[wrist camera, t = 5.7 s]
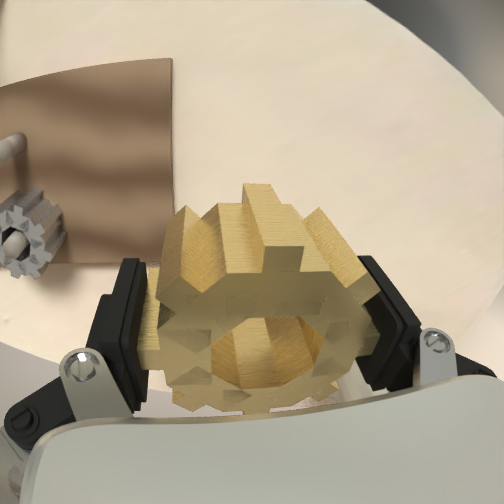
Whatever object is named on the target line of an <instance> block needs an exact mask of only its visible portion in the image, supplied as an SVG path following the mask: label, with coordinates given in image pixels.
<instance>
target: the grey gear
mask: <svg viewBox="0 0 504 504" xmlns="http://www.w3.org/2000/svg"><path fill="white" fill-rule="evenodd" d="M42 191H43V190H40V189H38V188H34V189H32V190H31V191H30V192H29V193H28V192H26V193H25V194H23V195H21V194H20V192H19V190H17V191H15V192H14V193H13V194H11V195H10V196H9V197H8V198H7V199H5V200H4V201H3V202H2V203H1V204H0V262H1V263H2V265H3V266H4V267H5V268H7V269H10V270H11V276H12V277H15V278H17V279H19V277H20V276H21V275H24V276H26V275H28V274H30V273H31V274H32V276H33V277H34V278H35V279H36V278H38V277H40V276H41V275H42V274H43V272H44V271H45V269H46V268H47V266H48V264H49V263H50V261H51V260H52V258H53V257H54V255H55V254H56V252H57V251H58V249H59V248H60V246H61V245H62V243H63V242H64V241H65V238H66V232H67V231H64V230H61V229H60V228H61V220H60V219H59V215H60V214H61V213H62V210H61V208H60V206H59V205H58V204H56V205H55V206H53V207H52V205H51V203H50V202H49V200H48V199H45V198H42ZM16 229H19V230H21V231H23V233H24V234H25V236H26V237H27V239H28V240H29V244H28V245H27V246H26V247H25V249H24V250H23V251H22V252H21V254H20V255H19V256H18V257H17V258H16V259H10V258H8V257H7V256H6V255H5V253H4V251H3V243H4V242H5V241H6V240H7V239H8V238H9V236H10V235H11V234H12V233H13V232H14V231H15V230H16Z"/></svg>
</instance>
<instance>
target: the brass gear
mask: <svg viewBox="0 0 504 504" xmlns="http://www.w3.org/2000/svg"><path fill="white" fill-rule="evenodd" d="M380 291H381V290H380V288H379V287H378V285H377V284H376V282H375V281H374V280H373V278H372V277H371V275H370V274H369V273H368V271H367V270H366V268H365V267H364V266H363V264H362V263H361V261H360V260H359V259H358V257H357V256H356V254H355V253H354V252H353V250H352V249H351V248H350V246H349V245H348V244H347V242H346V241H345V240H344V238H343V237H342V236H341V234H340V233H339V232H338V230H337V229H336V228H335V226H334V225H333V224H332V222H331V221H330V220H329V219H328V217H327V216H326V215H325V214H324V212H323V211H322V210H321V209H320V207H319V208H317V209H316V210H315V211H314V212H312V213H311V214H310V215H309V216H307V217H306V218H305V219H303V218H302V217H301V215H300V214H299V213H298V212H297V211H296V210H295V209H294V207H293V206H292V205H291V204H281V202H280V201H279V199H278V197H277V195H276V194H275V192H274V190H273V188H272V186H271V185H270V184H243V192H242V203H217V204H216V205H215V206H214V207H213V208H212V209H211V210H209V211H208V212H207V213H206V214H205V215H204V216H203V217H202V218H200V217H199V216H198V215H196V214H195V213H194V212H193V211H192V210H191V209H190V208H189V207H188V206H187V205H185V206H184V207H183V208H182V209H181V210H180V211H179V212H178V213H177V214H176V215H175V216H174V217H173V218H172V219H171V220H169V221H168V223H167V228H166V233H165V239H164V245H163V250H162V256H161V262H160V268H150V270H149V275H148V284H147V289H146V295H145V300H144V306H143V312H142V318H141V324H140V330H139V337H138V344H137V353H138V357H139V361H140V365H141V369H142V370H164V373H165V378H166V383H167V385H168V386H170V387H171V388H173V403H174V404H177V405H179V406H181V407H183V408H185V409H188V410H190V411H192V412H193V411H195V410H197V409H198V408H200V407H202V406H204V405H206V404H207V405H209V406H211V407H213V408H215V409H218V410H220V411H222V412H227V411H243V415H248V414H260V413H269V410H270V408H277V407H287V406H292V405H294V404H296V403H298V402H299V401H301V400H303V399H305V398H307V397H308V396H310V397H312V398H314V399H316V400H317V401H321V400H322V399H324V398H326V397H327V396H329V395H331V394H333V393H334V392H336V391H338V390H339V388H338V385H337V382H336V380H337V379H338V378H340V377H342V376H343V375H345V374H346V373H348V372H349V371H350V369H351V367H352V365H353V362H354V360H355V358H356V357H358V356H365V355H371V354H372V352H373V350H374V348H375V346H376V344H377V342H378V340H379V337H380V334H379V332H378V331H377V329H376V327H375V325H374V324H373V322H372V318H371V316H370V315H369V313H368V311H367V309H366V308H365V306H364V303H365V302H366V301H368V300H369V299H370V298H372V297H373V296H374V295H376V294H377V293H378V292H380Z"/></svg>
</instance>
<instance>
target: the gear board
mask: <svg viewBox="0 0 504 504" xmlns="http://www.w3.org/2000/svg"><path fill="white" fill-rule="evenodd" d="M34 188H38V189H40V190H43V191H42V198H45V199H48V200H49V202H50V203H51V205H52V207H53V206H55V205H56V204H58V205H59V206H60V208H61V210H62V213H61V214H60V215H59V219H60V220H61V228H60V229H61V230H64V231H67V232H66V238H65V241H64V242H63V243H62V245H61V246H60V248H59V249H58V251H57V252H56V254H55V255H54V257H53V258H52V260H51V261H50V263H108V262H122V261H123V258H139V259H140V262H158V261H161V256H162V250H163V245H164V239H165V233H166V228H167V223H168V221H169V220H171V219H172V218H173V217H174V197H173V171H172V59H171V58H161V59H147V60H136V61H126V62H117V63H109V64H102V65H95V66H89V67H83V68H77V69H72V70H67V71H62V72H57V73H52V74H48V75H43V76H39V77H35V78H31V79H27V80H24V81H20V82H16V83H13V84H9V85H6V86H3V87H0V204H1V203H2V202H3V201H4V200H5V199H7V198H8V197H9V196H10V195H11V194H13V193H14V192H15V191H17V190H19V192H20V194H21V195H23V194H25V193H26V192H28V193H29V192H30V191H31V190H32V189H34ZM28 244H29V240H28V239H27V237H26V236H25V234H24V233H23V231H21V230H19V229H16V230H15V231H14V232H13V233H12V234H11V235H10V236H9V238H8V239H7V240H6V241H5V242H4V243H3V251H4V253H5V255H6V256H7V257H8V258H10V259H16V258H17V257H18V256H19V255H20V254H21V252H22V251H23V250H24V249H25V247H26V246H27V245H28ZM0 264H2V263H1V262H0Z"/></svg>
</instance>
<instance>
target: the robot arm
mask: <svg viewBox="0 0 504 504" xmlns="http://www.w3.org/2000/svg"><path fill="white" fill-rule="evenodd" d="M357 257H358V259H359V260H360V261H361V263H362V264H363V266H364V267H365V268H366V270H367V271H368V273H369V274H370V275H371V277H372V278H373V280H374V281H375V282H376V284H377V285H378V287H379V288H380V290H381V291H380V292H378V293H377V294H376V295H374V296H373V297H372V298H370V299H369V300H368V301H366V302H365V303H364V306H365V308H366V309H367V311H368V313H369V315H370V316H371V318H372V322H373V324H374V325H375V327H376V329H377V331H378V332H379V334H380V337H379V340H378V342H377V344H376V346H375V348H374V350H373V352H372V354H371V355H365V356H358V357H356V358H355V360H354V362H353V365H352V367H351V369H350V371H349V372H348V373H346V374H345V375H343V376H342V377H340V378H338V379H337V380H336V382H337V385H338V388H339V390H338V391H336V392H334V393H333V394H331V395H329V396H328V397H330V398H335V399H336V402H337V403H336V404H330V405H324V406H317V407H311V408H304V409H296V410H288V411H280V412H271V413H260V414H248V415H236V416H235V415H234V416H217V417H185V418H184V417H183V418H140V417H139V418H134V416H133V415H132V414H133V413H134V411H140V409H141V402H146V400H147V388H148V375H149V370H142V369H141V365H140V361H139V357H138V353H137V344H138V337H139V330H140V324H141V318H142V312H143V306H144V300H145V295H146V289H147V284H148V280H147V272H146V264H145V262H140V259H139V258H123V261H122V264H121V267H120V270H119V273H118V276H117V279H116V282H115V286H114V289H113V292H112V294H103V295H102V296H101V298H100V301H99V304H98V307H97V310H96V314H95V317H94V320H93V323H92V326H91V330H90V333H89V337H88V340H87V344H86V347H85V348H79V349H75V350H73V351H71V352H69V353H68V354H67V355H66V356H64V358H63V359H62V361H61V362H60V366H59V372H60V376H59V377H58V378H56V379H55V380H53V381H51V382H50V383H48V384H47V385H45V386H43V387H42V388H40V389H39V390H37V391H36V392H34V393H32V394H31V395H29V396H28V397H26V398H24V399H23V400H21V401H20V402H18V403H16V404H15V405H14V406H12V407H11V408H10V409H9V410H8V412H7V414H6V416H5V419H4V426H3V427H1V428H0V504H504V382H503V381H501V380H500V379H498V378H497V376H496V375H495V374H494V372H493V371H492V370H490V369H489V368H487V367H486V366H483V365H481V364H479V363H476V362H475V361H472V360H470V359H468V358H466V357H463V356H461V355H459V354H457V353H455V348H454V344H453V341H452V339H451V338H450V337H449V336H448V335H447V334H446V333H445V332H443V331H441V330H439V329H435V328H427V329H425V330H423V331H422V330H421V328H420V326H421V322H420V321H419V319H418V318H417V316H416V315H415V314H414V312H413V311H412V309H411V308H410V307H409V305H408V304H407V302H406V301H405V300H404V298H403V297H402V296H401V294H400V293H399V291H398V290H397V289H396V287H395V286H394V285H393V283H392V282H391V281H390V279H389V278H388V277H387V275H386V274H385V273H384V271H383V270H382V269H381V268H380V266H379V265H378V264H377V262H376V261H375V260H374V259H373V257H372V256H357Z"/></svg>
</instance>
